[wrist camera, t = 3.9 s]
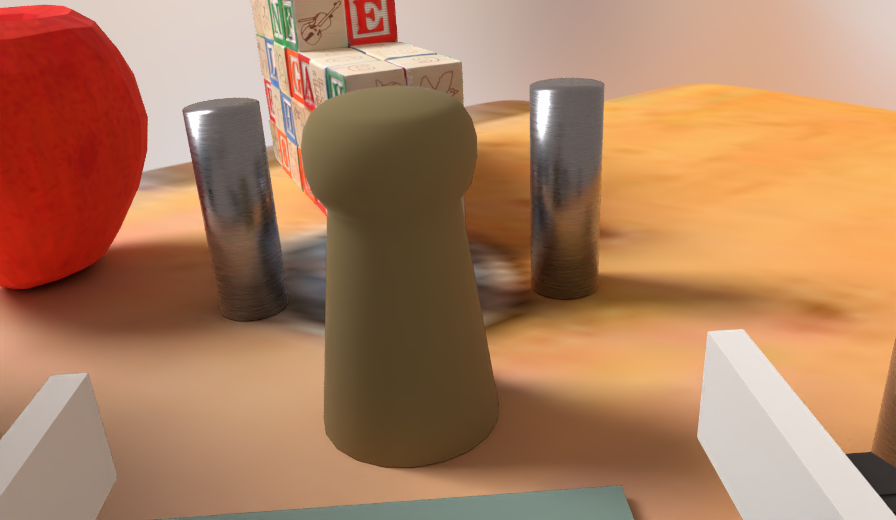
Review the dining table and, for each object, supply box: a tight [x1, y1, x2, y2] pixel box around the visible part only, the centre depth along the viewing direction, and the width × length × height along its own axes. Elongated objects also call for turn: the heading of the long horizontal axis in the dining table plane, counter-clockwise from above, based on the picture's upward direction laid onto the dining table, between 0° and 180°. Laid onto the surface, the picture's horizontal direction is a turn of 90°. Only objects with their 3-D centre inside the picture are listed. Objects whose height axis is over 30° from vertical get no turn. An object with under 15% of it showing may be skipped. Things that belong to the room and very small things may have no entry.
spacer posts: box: [182, 78, 896, 468], centre depth 27 cm, size 25×18×9 cm
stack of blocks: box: [251, 0, 465, 219], centre depth 47 cm, size 21×6×12 cm, turn 23°
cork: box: [301, 86, 499, 467], centre depth 24 cm, size 6×6×11 cm
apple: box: [0, 5, 148, 290], centre depth 36 cm, size 12×12×13 cm
